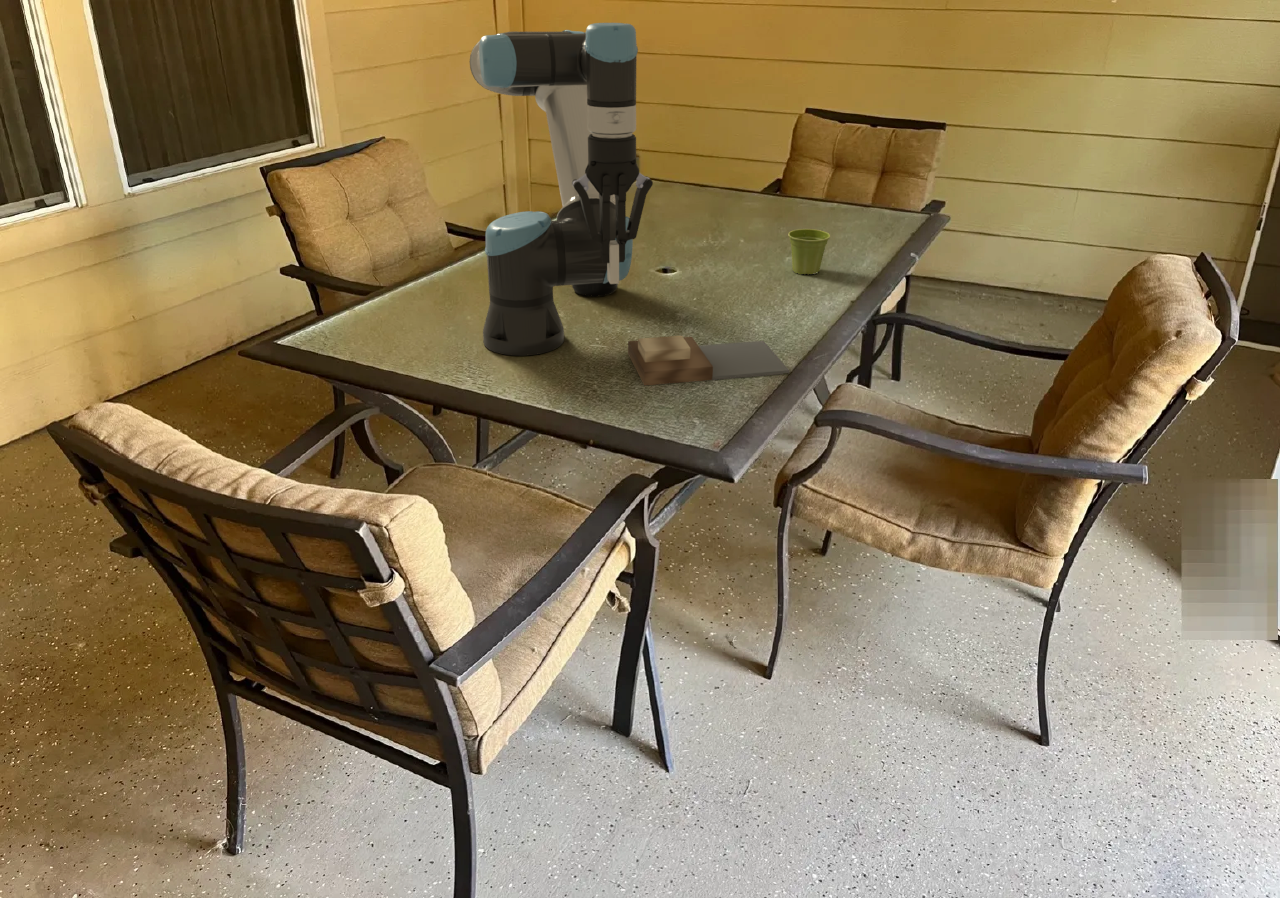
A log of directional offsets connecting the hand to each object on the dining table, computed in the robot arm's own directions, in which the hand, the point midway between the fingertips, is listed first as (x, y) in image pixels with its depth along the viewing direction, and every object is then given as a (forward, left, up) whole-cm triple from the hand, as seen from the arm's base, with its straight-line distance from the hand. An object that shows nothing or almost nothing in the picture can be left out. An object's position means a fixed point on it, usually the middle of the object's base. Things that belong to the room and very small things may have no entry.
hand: (613, 281), depth 152 cm
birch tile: (+9, 0, -14) cm, 17 cm away
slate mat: (+23, 0, -16) cm, 28 cm away
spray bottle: (+4, +43, -17) cm, 46 cm away
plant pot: (+54, +47, -17) cm, 74 cm away
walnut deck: (+10, 0, -16) cm, 19 cm away
